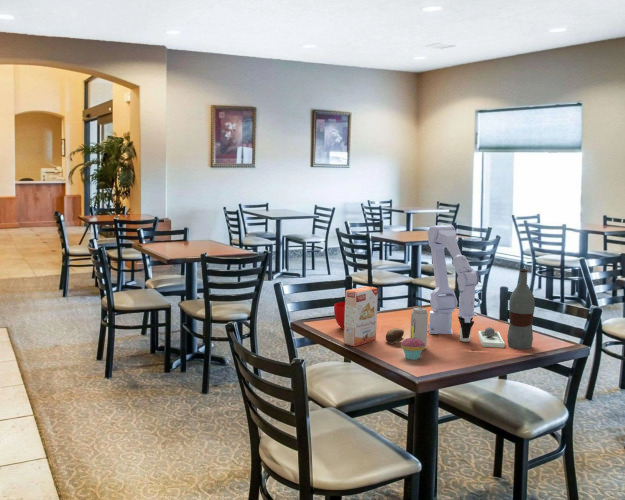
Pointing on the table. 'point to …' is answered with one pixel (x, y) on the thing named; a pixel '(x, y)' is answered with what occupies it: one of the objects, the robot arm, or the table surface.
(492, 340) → the tray
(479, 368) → the table surface
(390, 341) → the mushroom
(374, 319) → the cracker box
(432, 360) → the table surface
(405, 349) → the cupcake
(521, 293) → the bottle
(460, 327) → the shaker
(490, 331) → the ball
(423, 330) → the energy drink can
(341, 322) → the ceramic cup
